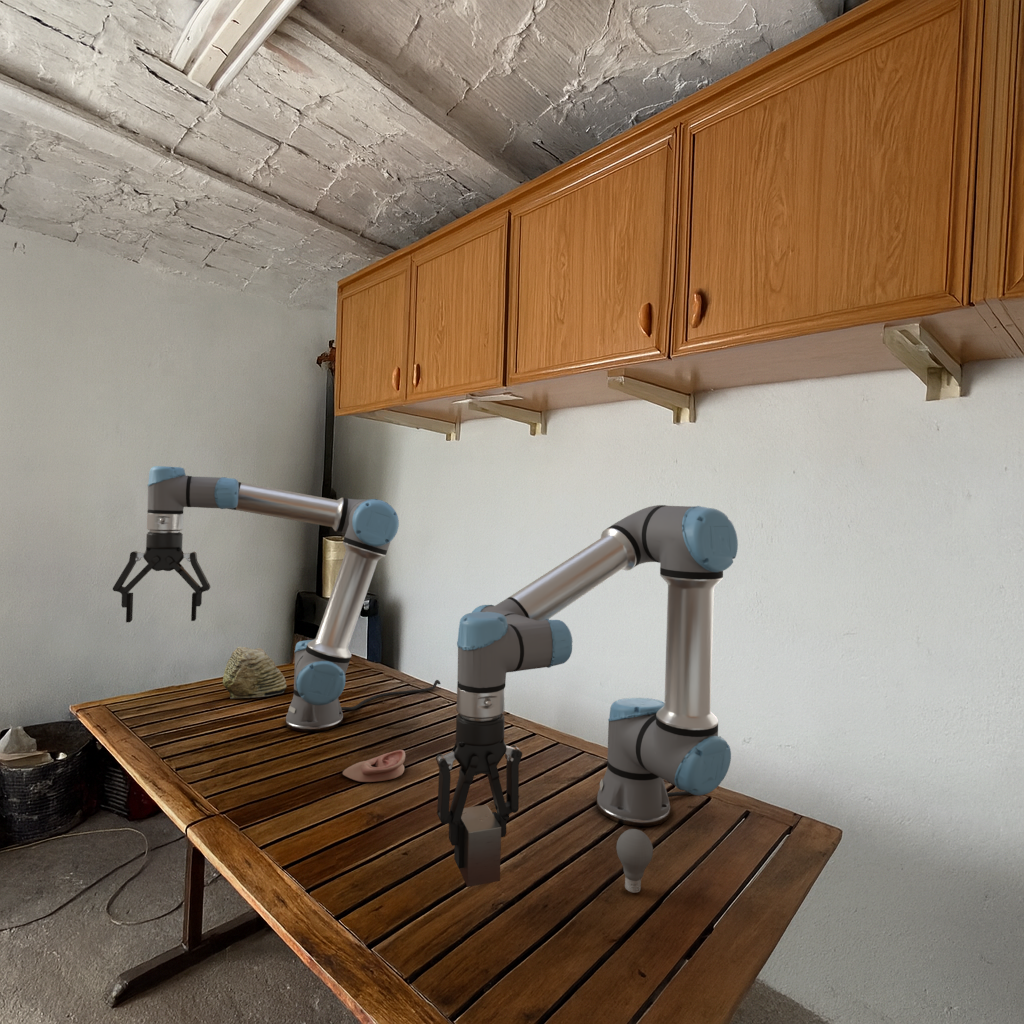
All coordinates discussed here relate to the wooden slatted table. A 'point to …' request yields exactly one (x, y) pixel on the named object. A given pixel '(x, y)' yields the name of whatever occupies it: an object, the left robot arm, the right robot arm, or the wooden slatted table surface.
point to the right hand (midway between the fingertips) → (477, 859)
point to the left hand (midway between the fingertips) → (161, 620)
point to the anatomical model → (377, 768)
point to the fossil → (252, 674)
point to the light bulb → (634, 857)
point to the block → (481, 846)
